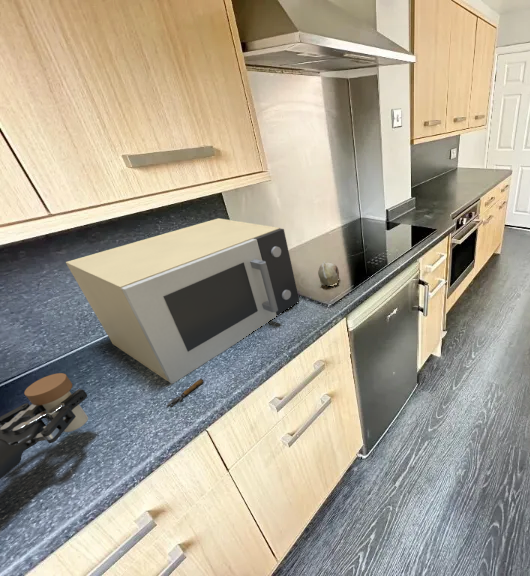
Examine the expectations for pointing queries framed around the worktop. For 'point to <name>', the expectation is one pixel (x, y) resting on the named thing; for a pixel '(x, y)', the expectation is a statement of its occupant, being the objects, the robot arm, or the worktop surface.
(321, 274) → the garlic bulb
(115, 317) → the microwave
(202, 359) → the microwave door
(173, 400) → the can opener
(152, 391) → the worktop surface
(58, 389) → the mushroom
